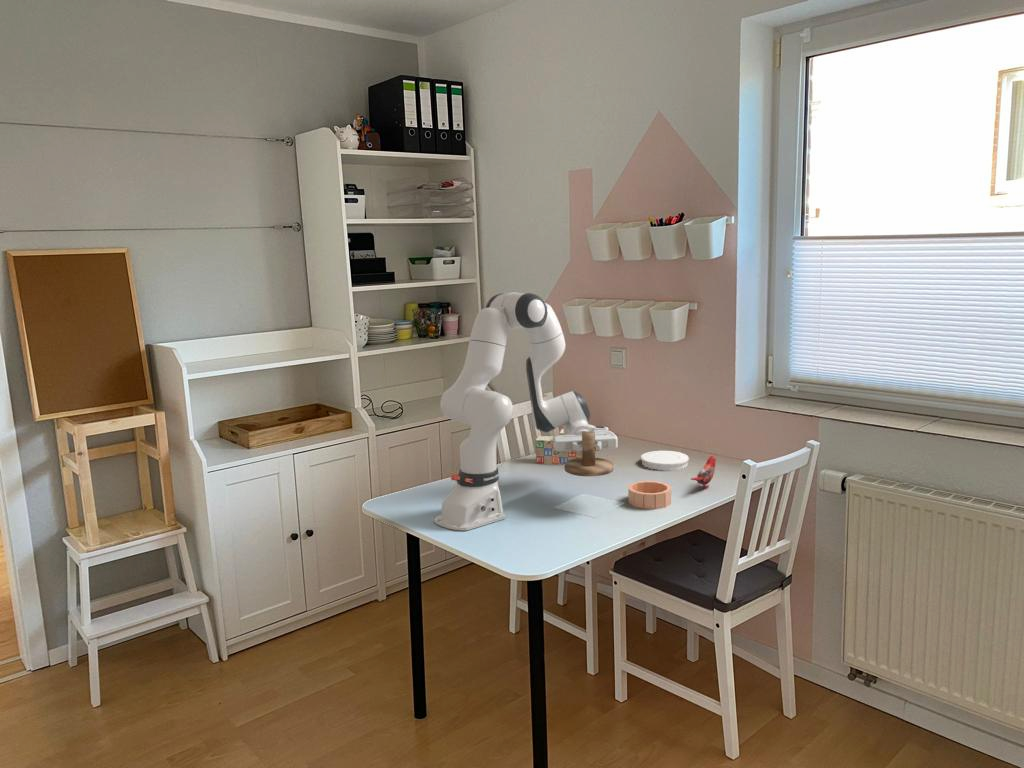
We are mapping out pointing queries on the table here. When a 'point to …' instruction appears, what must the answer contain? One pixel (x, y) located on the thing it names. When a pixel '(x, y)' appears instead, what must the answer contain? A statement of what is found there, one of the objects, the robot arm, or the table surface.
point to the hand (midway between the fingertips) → (589, 449)
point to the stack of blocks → (552, 451)
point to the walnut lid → (588, 460)
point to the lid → (664, 460)
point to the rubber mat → (589, 505)
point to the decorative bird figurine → (706, 472)
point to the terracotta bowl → (649, 494)
